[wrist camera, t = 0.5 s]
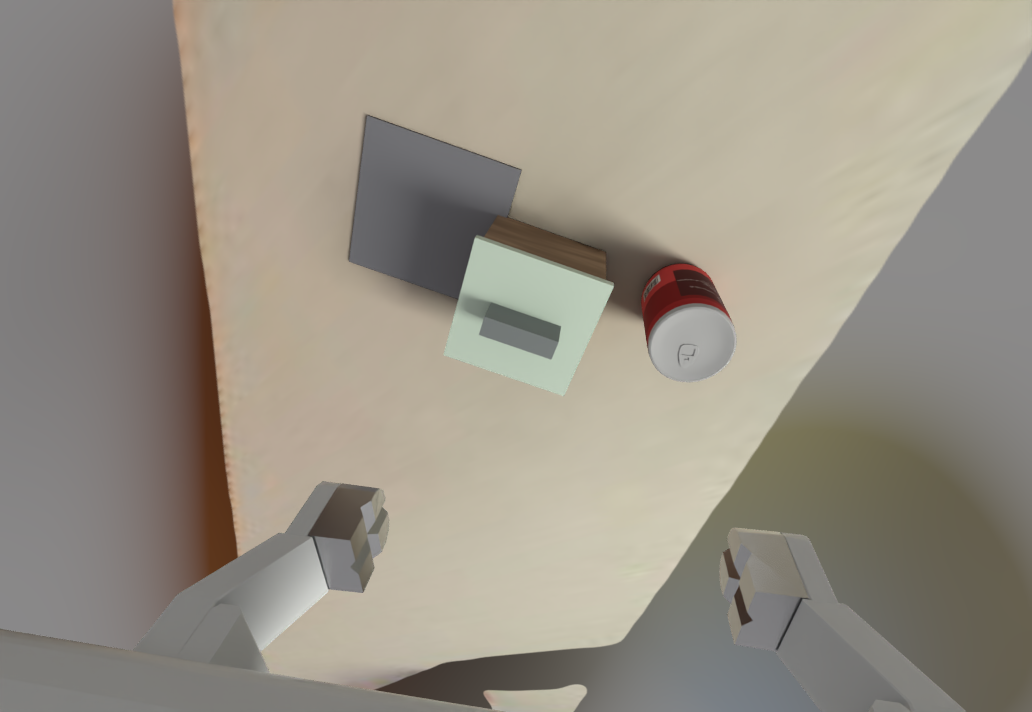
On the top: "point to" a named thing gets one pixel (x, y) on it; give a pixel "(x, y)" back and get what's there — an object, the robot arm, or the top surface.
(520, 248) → the crate
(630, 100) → the top surface
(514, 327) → the lid
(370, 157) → the dark grey flat plate
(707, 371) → the canned food
